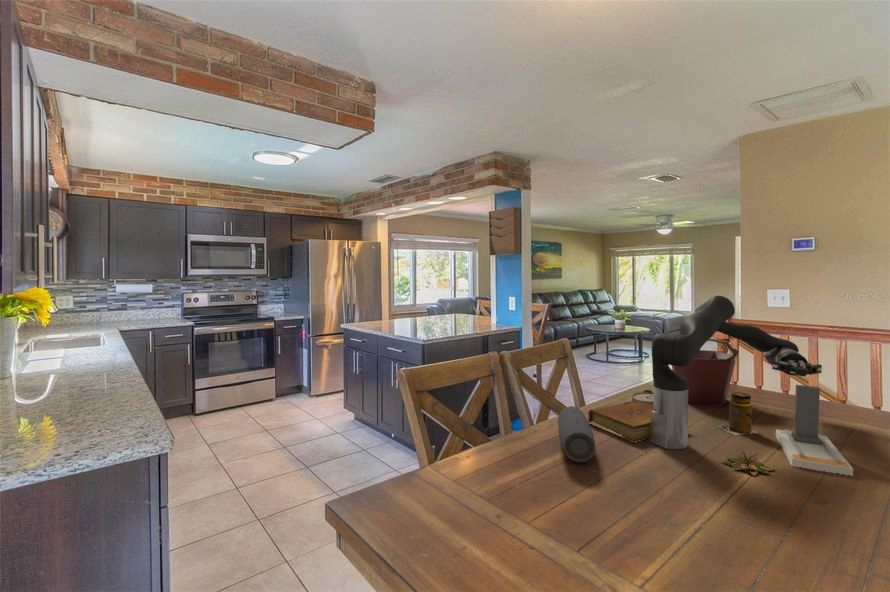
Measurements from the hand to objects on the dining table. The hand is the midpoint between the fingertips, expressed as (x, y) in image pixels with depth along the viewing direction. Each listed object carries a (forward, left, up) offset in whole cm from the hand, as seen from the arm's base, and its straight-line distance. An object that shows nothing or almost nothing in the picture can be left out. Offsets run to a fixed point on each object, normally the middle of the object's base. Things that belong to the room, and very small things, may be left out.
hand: (802, 372), depth 128 cm
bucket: (+9, +41, -21) cm, 47 cm away
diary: (-38, +28, -21) cm, 51 cm away
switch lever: (-5, -4, -18) cm, 19 cm away
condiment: (-10, +13, -21) cm, 26 cm away
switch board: (-9, -7, -21) cm, 24 cm away
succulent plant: (-33, -6, -21) cm, 39 cm away
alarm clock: (-13, +45, -21) cm, 51 cm away
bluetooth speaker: (-68, +20, -21) cm, 73 cm away
